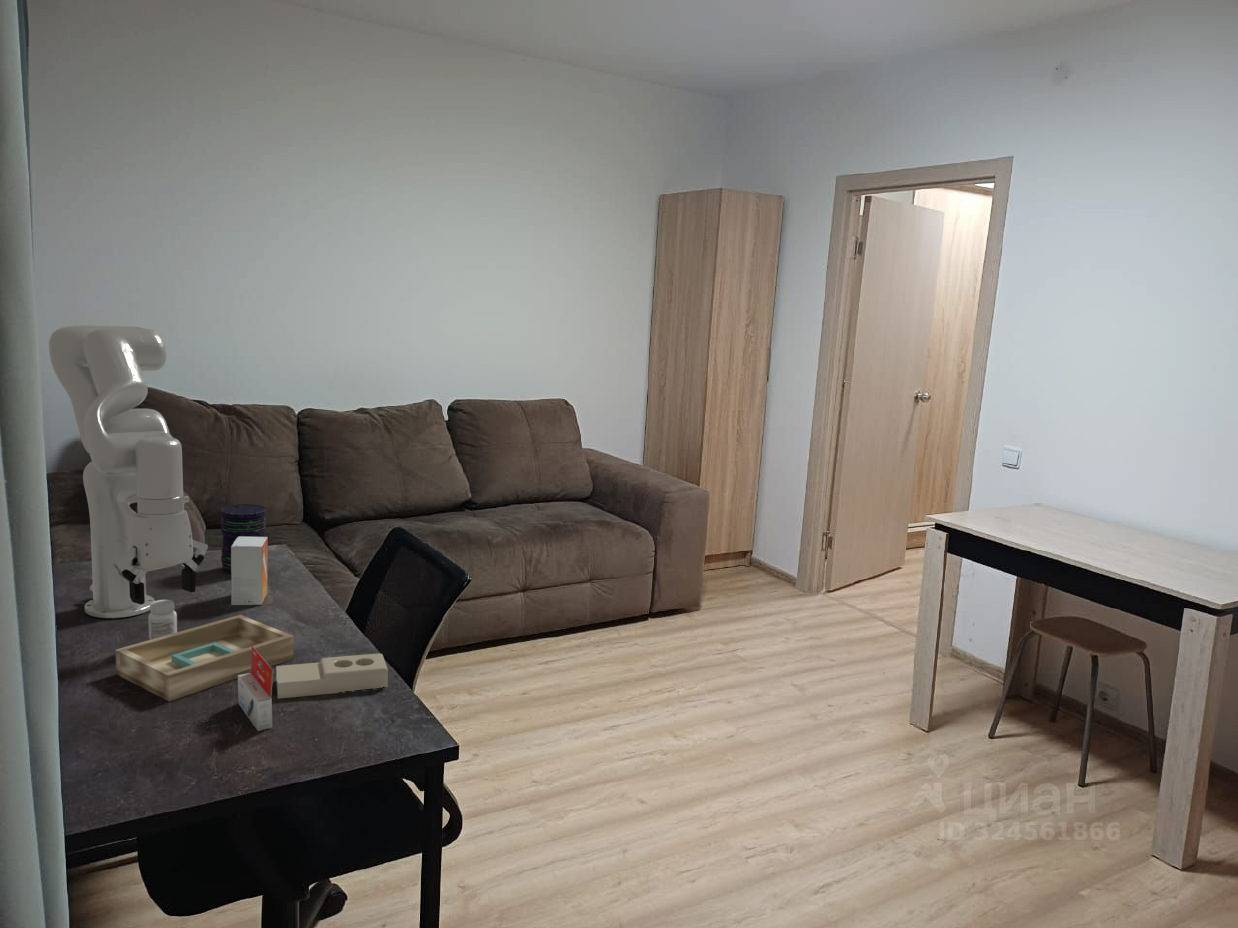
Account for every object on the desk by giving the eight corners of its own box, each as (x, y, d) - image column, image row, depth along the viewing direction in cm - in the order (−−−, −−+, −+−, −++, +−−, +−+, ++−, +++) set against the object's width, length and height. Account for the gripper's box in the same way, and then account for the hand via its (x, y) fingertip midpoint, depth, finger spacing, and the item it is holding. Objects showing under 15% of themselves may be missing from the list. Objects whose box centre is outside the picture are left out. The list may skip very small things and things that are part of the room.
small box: (262, 605, 195) (262, 546, 193) (230, 605, 194) (230, 546, 192) (268, 593, 203) (268, 536, 201) (237, 593, 202) (237, 535, 199)
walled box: (116, 674, 158) (115, 649, 157) (240, 636, 178) (240, 614, 177) (169, 701, 150) (168, 675, 149) (293, 658, 169) (293, 635, 169)
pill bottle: (155, 640, 173) (154, 598, 172) (181, 641, 174) (180, 599, 172) (144, 650, 169) (143, 606, 167) (171, 651, 169) (170, 607, 168)
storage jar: (274, 571, 218) (274, 510, 215) (235, 579, 210) (235, 516, 208) (251, 561, 224) (251, 502, 221) (213, 569, 216) (212, 507, 214)
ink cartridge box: (257, 732, 142) (257, 672, 140) (237, 704, 151) (236, 647, 149) (273, 728, 144) (273, 669, 142) (252, 700, 152) (252, 645, 150)
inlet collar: (171, 661, 162) (171, 655, 162) (215, 648, 169) (215, 641, 169) (199, 674, 158) (199, 668, 158) (243, 660, 165) (243, 654, 165)
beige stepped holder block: (276, 660, 159) (382, 652, 166) (276, 682, 160) (381, 673, 167) (277, 677, 153) (388, 668, 160) (277, 700, 153) (387, 689, 160)
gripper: (193, 496, 175) (195, 582, 178) (101, 509, 161) (105, 603, 164) (216, 501, 171) (219, 590, 174) (124, 516, 157) (128, 612, 160)
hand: (164, 596), depth 169 cm, fingers open, 9 cm apart
